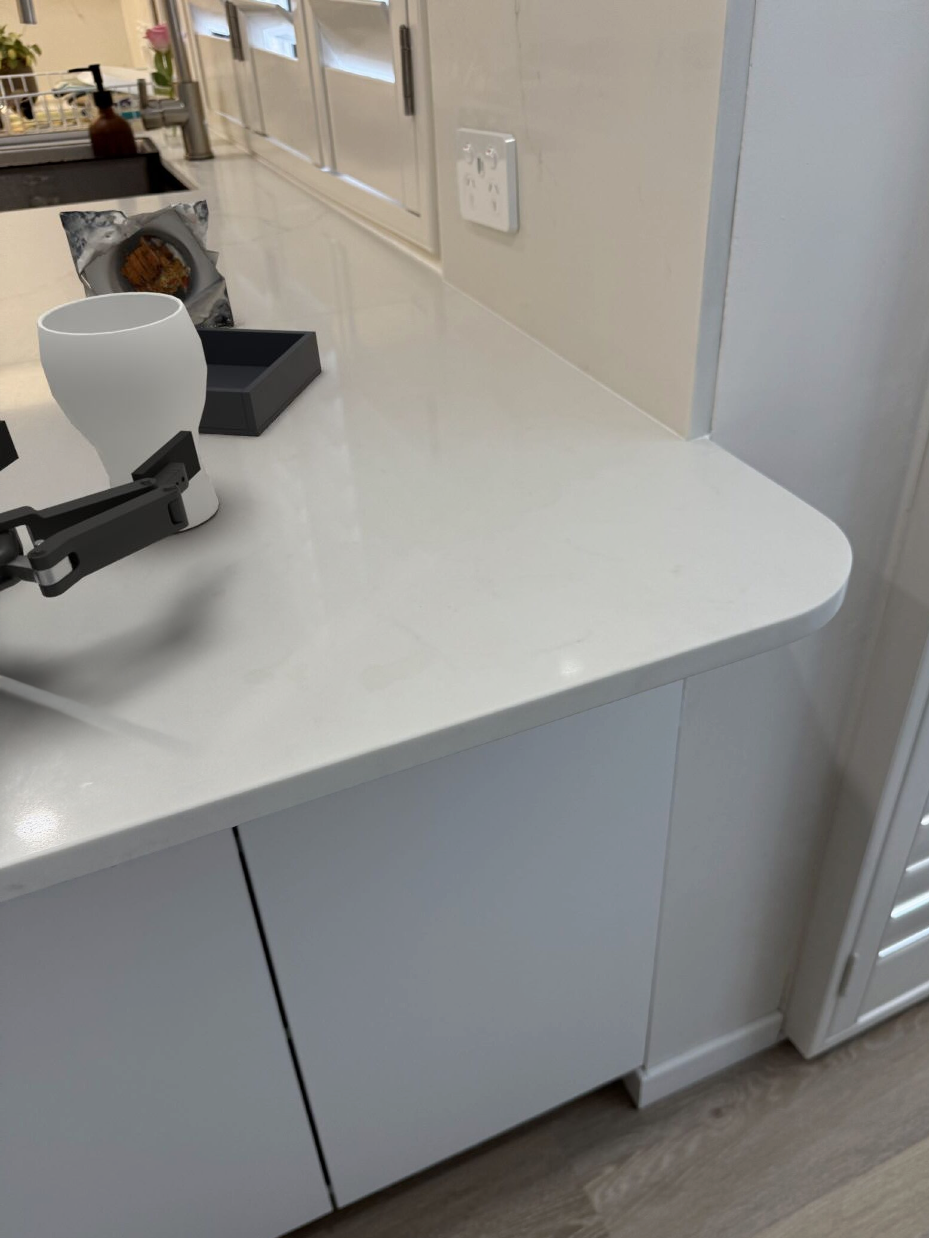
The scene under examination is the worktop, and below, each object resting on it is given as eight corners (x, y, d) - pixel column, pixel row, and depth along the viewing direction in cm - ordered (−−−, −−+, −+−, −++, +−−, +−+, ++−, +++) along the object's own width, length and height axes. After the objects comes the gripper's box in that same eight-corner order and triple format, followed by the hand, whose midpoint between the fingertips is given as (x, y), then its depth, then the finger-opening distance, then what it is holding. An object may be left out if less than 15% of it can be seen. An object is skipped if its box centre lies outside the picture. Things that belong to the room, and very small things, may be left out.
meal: (227, 318, 112) (202, 196, 104) (235, 328, 109) (209, 203, 100) (95, 338, 107) (58, 211, 99) (99, 349, 104) (61, 219, 96)
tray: (89, 426, 87) (75, 384, 84) (172, 364, 99) (163, 325, 97) (258, 436, 84) (249, 392, 81) (321, 371, 97) (315, 331, 94)
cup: (163, 472, 78) (111, 283, 69) (265, 495, 75) (224, 298, 65) (65, 529, 71) (-9, 326, 62) (172, 558, 67) (111, 346, 58)
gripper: (-296, 656, 51) (-45, 484, 68) (122, 701, 47) (281, 507, 64) (-380, 535, 47) (-89, 381, 63) (75, 573, 43) (260, 398, 59)
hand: (97, 444), depth 63 cm, fingers open, 13 cm apart
